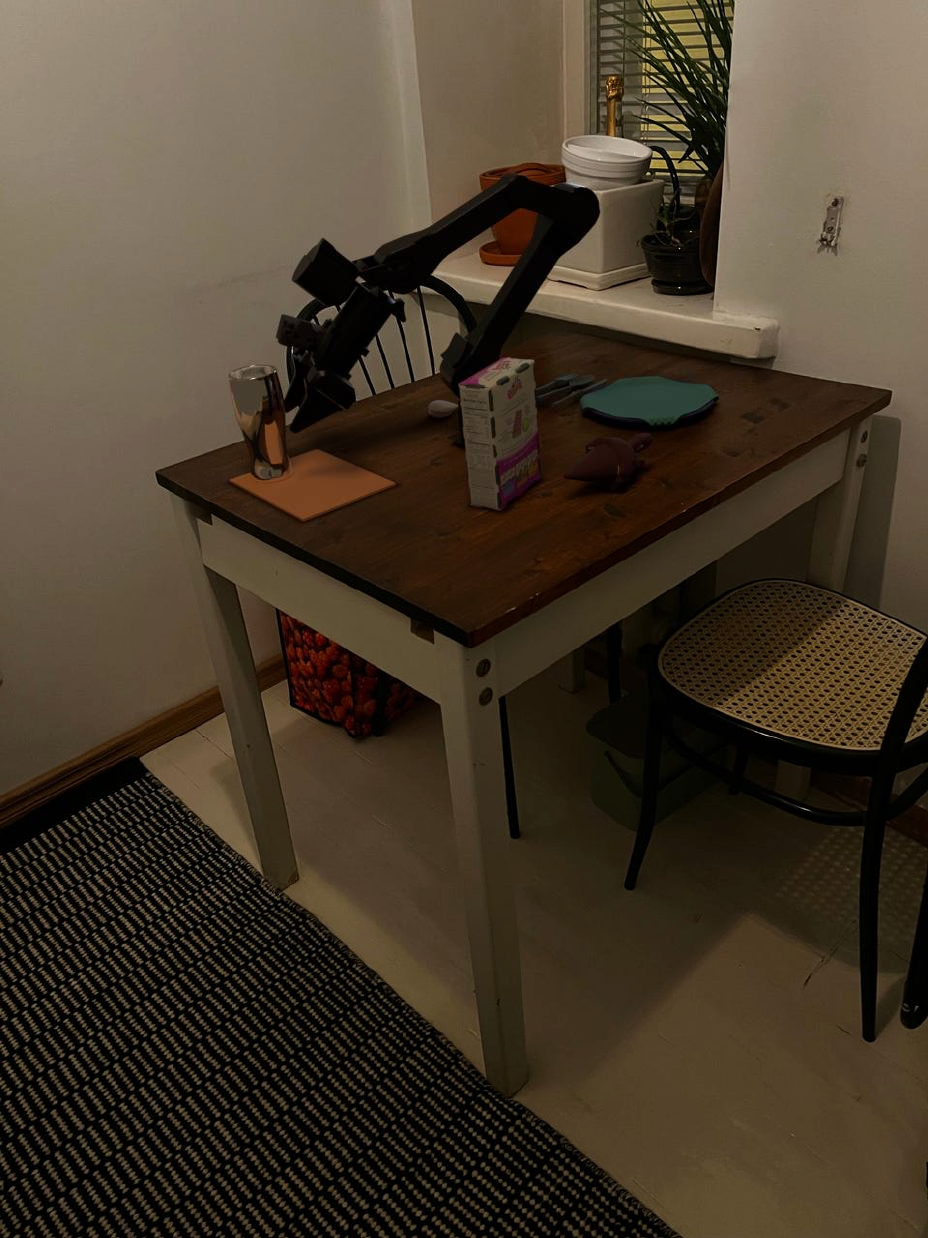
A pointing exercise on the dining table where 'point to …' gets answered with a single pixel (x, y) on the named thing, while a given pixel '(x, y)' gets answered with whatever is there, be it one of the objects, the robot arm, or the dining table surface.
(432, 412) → the grey rounded piece
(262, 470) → the beer glass
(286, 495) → the cloth
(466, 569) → the dining table surface
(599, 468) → the icecream
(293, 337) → the robot arm
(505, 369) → the candy bar box
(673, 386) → the cutlery set
